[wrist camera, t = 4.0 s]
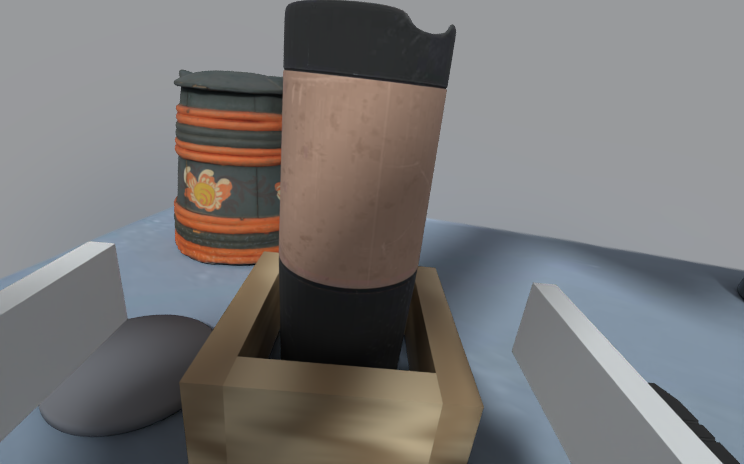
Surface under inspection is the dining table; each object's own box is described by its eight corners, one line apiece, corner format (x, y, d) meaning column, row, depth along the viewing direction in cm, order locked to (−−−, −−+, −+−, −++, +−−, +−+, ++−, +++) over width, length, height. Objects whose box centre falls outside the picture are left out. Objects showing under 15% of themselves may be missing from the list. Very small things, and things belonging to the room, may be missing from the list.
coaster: (238, 330, 26) (238, 320, 26) (177, 443, 18) (175, 431, 18) (111, 318, 26) (109, 309, 26) (-12, 429, 18) (-17, 417, 17)
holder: (424, 322, 30) (435, 267, 28) (461, 483, 18) (483, 407, 16) (264, 307, 29) (263, 251, 27) (188, 464, 17) (179, 382, 15)
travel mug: (298, 328, 27) (310, 25, 20) (400, 345, 27) (451, 40, 19) (256, 412, 20) (250, -11, 13) (393, 437, 20) (471, 11, 12)
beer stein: (362, 232, 47) (380, 59, 39) (330, 289, 33) (349, 42, 26) (223, 209, 49) (216, 42, 41) (141, 253, 35) (108, 17, 28)
